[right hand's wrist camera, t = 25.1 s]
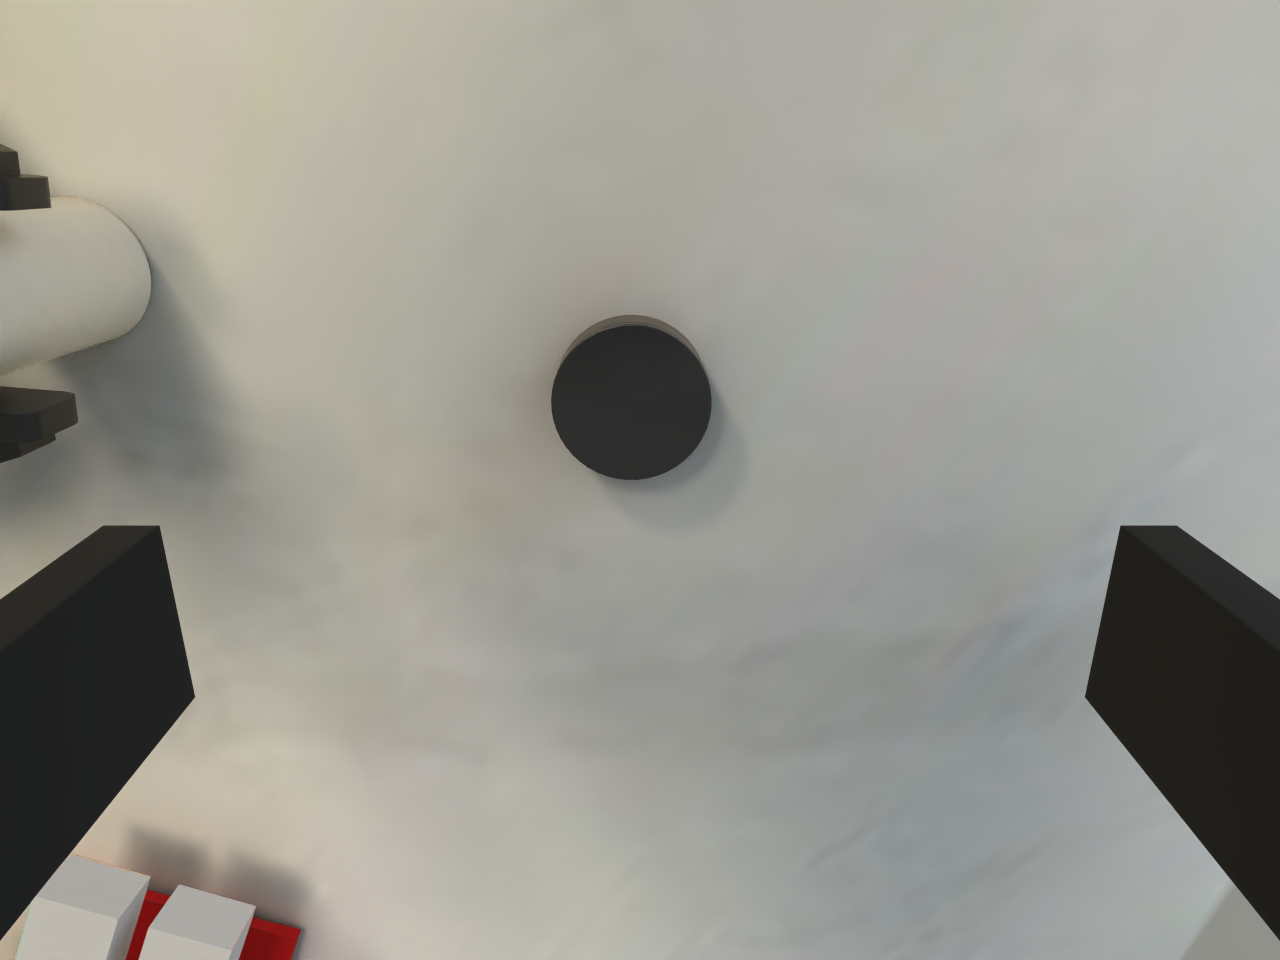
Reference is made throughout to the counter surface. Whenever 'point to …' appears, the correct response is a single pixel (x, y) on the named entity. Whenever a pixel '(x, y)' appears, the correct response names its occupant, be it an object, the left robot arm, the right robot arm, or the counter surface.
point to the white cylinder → (66, 281)
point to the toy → (142, 921)
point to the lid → (631, 398)
